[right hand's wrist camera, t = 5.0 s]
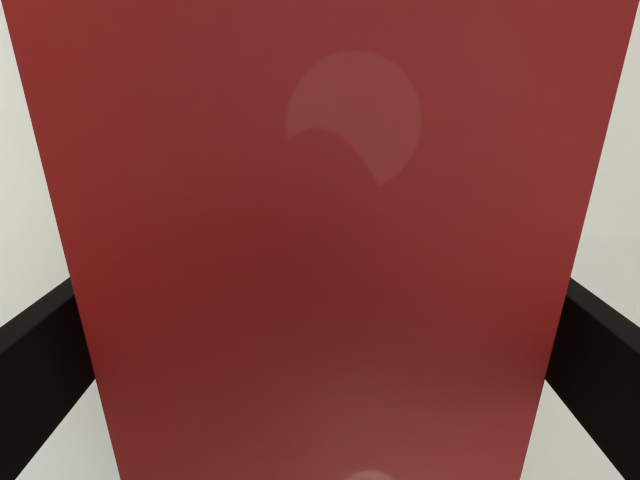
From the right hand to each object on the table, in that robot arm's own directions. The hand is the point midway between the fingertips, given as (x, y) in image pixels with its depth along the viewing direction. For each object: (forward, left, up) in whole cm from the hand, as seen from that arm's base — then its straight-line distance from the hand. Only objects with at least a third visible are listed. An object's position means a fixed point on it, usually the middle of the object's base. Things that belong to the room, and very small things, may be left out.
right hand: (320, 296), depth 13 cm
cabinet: (+2, +4, -8) cm, 9 cm away
